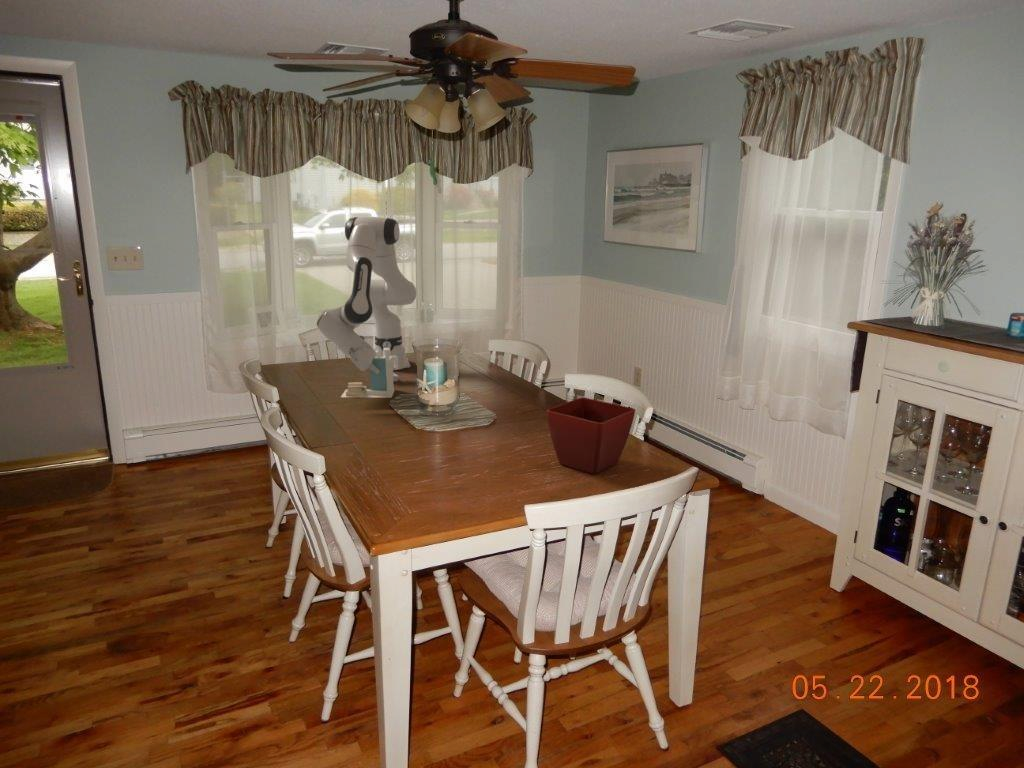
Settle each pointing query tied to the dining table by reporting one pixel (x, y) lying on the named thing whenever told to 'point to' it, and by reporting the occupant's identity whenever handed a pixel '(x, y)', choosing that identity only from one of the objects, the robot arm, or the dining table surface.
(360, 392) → the plate
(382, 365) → the tall board
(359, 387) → the offcut top
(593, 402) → the plant pot
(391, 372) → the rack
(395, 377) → the figurine
